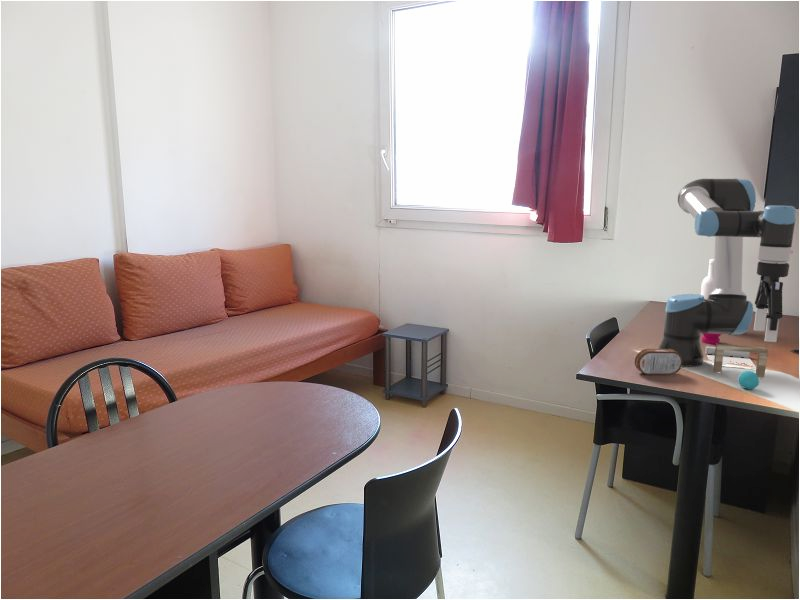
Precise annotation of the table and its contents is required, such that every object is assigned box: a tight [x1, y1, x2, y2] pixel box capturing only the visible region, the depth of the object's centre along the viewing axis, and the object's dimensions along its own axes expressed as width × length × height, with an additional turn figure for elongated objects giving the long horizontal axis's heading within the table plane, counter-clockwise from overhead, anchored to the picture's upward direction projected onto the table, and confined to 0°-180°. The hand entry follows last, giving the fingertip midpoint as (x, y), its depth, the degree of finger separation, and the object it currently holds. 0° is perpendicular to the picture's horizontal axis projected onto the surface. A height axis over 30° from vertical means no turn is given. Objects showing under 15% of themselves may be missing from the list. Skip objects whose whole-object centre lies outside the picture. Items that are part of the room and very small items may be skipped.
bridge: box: [712, 343, 769, 378], centre depth 200 cm, size 3×14×9 cm, turn 70°
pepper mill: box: [701, 333, 722, 345], centre depth 239 cm, size 7×7×20 cm
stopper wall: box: [704, 345, 751, 359], centre depth 222 cm, size 14×2×2 cm, turn 70°
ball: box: [737, 370, 760, 390], centre depth 185 cm, size 6×6×6 cm
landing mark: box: [706, 354, 757, 370], centre depth 213 cm, size 14×14×1 cm
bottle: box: [700, 258, 714, 299], centre depth 263 cm, size 8×8×30 cm
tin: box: [634, 348, 683, 376], centre depth 199 cm, size 15×3×8 cm, turn 92°
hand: (764, 335), depth 173 cm, fingers open, 13 cm apart
